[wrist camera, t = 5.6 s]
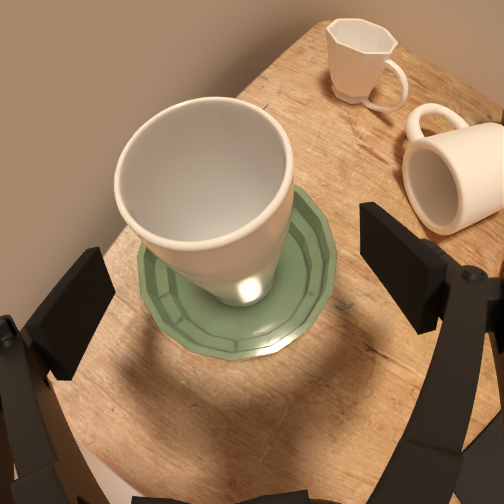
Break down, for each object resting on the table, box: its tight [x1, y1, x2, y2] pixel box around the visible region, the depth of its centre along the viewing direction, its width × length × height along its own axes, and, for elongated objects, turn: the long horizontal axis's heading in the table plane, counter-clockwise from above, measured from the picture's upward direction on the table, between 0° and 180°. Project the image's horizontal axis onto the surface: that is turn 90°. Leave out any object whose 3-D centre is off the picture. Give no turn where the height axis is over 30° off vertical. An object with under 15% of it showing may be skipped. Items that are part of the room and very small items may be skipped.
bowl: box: [137, 185, 337, 361], centre depth 23 cm, size 13×13×5 cm
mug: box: [402, 103, 504, 235], centre depth 23 cm, size 12×10×8 cm
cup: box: [326, 19, 408, 113], centre depth 27 cm, size 7×10×8 cm
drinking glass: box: [114, 97, 294, 307], centre depth 18 cm, size 7×7×15 cm
